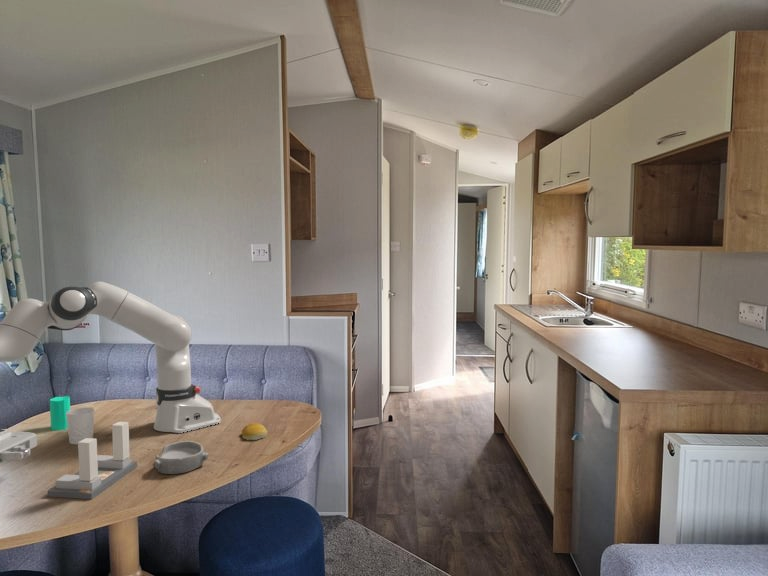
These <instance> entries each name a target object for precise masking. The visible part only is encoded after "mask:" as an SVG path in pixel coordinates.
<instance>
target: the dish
mask: <svg viewBox="0 0 768 576" xmlns="http://www.w3.org/2000/svg"><path fill="white" fill-rule="evenodd" d="M208 459H209V453H208V452H205V450H204V447H203V444H201V443H199V442H196V441H192V440H184V441H183V440H182V441H176V442H172V443H169V444H165V445H164V446H163V448H162V451H161V454H160V456H159V455H158V454H156V455H155V460H154V463H153V464H154V467H155V468H156V470H157V472H158V473H160V474H165V475H175V474H176V475H177V474H178V475H179V474H184V473H188V472H191V471H193V470H195V469H198V468H200V467H201V466H202V465H203V464H204V461H207V460H208Z"/></svg>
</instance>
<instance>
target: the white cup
mask: <svg viewBox="0 0 768 576" xmlns="http://www.w3.org/2000/svg"><path fill="white" fill-rule="evenodd" d="M66 417H67V433H68V442H69V444H70V445H78V442H80V441H81V440H83V439H85V438H94V431H95V428H94V427H95V409H94V408H93V407H89V406H88V407H87V406H86V407H85V406H84V407H78V408H77V407H76V408H73V409H70V410H69V411H67V412H66Z"/></svg>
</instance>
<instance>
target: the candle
mask: <svg viewBox="0 0 768 576" xmlns="http://www.w3.org/2000/svg"><path fill="white" fill-rule="evenodd" d="M69 410H71V397H70V395H64V396H61V394H60V393H59V396H55V397H53V398H50V399H49V411H50V412H49V413H50V416H49V417H50V429H52V430H51V431H55V430H56V431H63V430H68V428H67V417H66V412H67V411H69Z"/></svg>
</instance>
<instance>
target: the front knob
mask: <svg viewBox="0 0 768 576" xmlns="http://www.w3.org/2000/svg"><path fill="white" fill-rule="evenodd" d="M97 441H98V439H97V438H94V437H93V438H85V439H83V440H81V441H80V442H78V444H77V448H78V449H77V450H78V472H79V480H84V481H91V480H93V479H94V478H96V477H97V476H98V461H97V455H98V442H97Z"/></svg>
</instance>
